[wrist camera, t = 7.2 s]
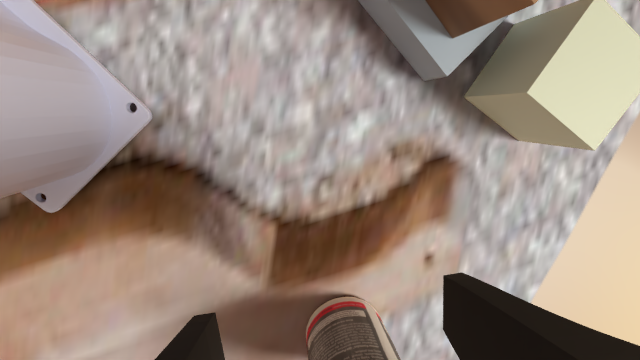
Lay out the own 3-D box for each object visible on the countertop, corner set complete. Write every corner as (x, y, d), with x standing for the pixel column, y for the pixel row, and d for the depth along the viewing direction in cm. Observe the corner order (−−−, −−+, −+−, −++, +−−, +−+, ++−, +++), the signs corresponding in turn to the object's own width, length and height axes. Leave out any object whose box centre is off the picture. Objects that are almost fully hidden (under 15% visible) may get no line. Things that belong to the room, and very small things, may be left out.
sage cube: (462, 97, 19) (526, 92, 14) (512, 24, 18) (598, -7, 13) (517, 140, 20) (594, 150, 15) (566, 74, 19) (663, 61, 14)
